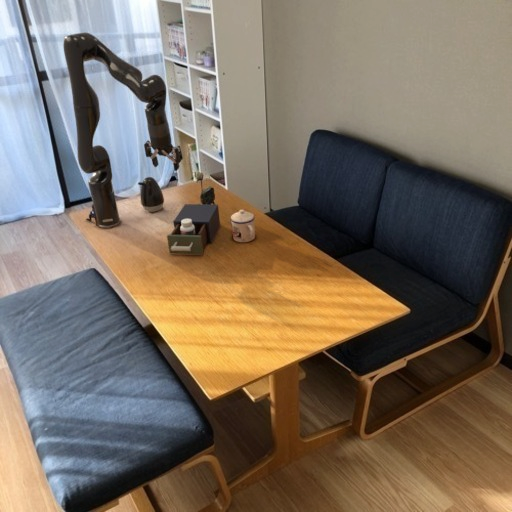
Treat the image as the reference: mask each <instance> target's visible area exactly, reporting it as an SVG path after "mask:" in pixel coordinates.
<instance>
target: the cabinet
mask: <svg viewBox="0 0 512 512" xmlns="http://www.w3.org/2000/svg"><path fill="white" fill-rule="evenodd" d="M183 219H191V220H192V224H207V232H208V240H207V242H206V244H209V245H210V244H212V243H213V241H214V239H215V236H216V235H217V234H218V230H219V229H220V226H221V220H220V211H219V204H215V205H214V204H213V203H212V204H202V203H193V204H192V203H188V204H187V203H185V204H183V206H182V208H181V209H180V211H179V212H178V213H177V215H176V216H175V218H174V220H173V227H174V229H175V227H176V225H177V224H178V223H181V221H182V220H183Z"/></svg>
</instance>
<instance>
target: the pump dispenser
mask: <svg viewBox="0 0 512 512" xmlns="http://www.w3.org/2000/svg"><path fill="white" fill-rule="evenodd" d="M137 185H138V186H140V197H139V199H140V204H141V206H142V208H143V209H144V210H145V211H147V212H149V213H155V212H158V211H160V210H162V208H163V207H164V204H165V197H164V194H163V191H162V189H161V186H160V185H159V183H158V182H157V180H156V179H155V178H154V177H152V176H147V177H145V178H144V179H143V180H142V181H141V182H140V181H139V182H138V183H137Z"/></svg>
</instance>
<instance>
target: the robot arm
mask: <svg viewBox="0 0 512 512" xmlns="http://www.w3.org/2000/svg"><path fill="white" fill-rule="evenodd" d="M62 46H63V54H64V59H65V62H66V66H67V72H68V77H69V82H70V88H71V95H72V96H71V97H72V105H73V114H74V118H75V128H76V140H77V142H76V143H77V145H76V146H77V149H76V150H77V161H78V165H79V167H80V169H81V170H82V171H83V173H85V174H90V175H91V174H92V175H91V177H90V178H89V179H88V182H87V185H88V188H89V192H90V196H91V201H92V204H91V211H89V214H88V218H86V221H88V222H92V220H93V219H94V222H95V226H96V227H98V228H100V229H111V228H115V227H117V226H119V225H120V224H121V218H120V213H119V209H118V204H117V200H116V195H115V194H116V193H115V190H114V184H113V171H112V164H111V159H110V155H109V153H108V150H107V149H106V148H105V147H104V146H102V145H99V144H97V145H94V138H95V133H96V130H97V128H98V126H99V122H100V118H101V109H100V101H99V100H100V99H99V97H98V94H97V93H96V91H95V89H94V88H93V87H92V85H91V84H90V83H89V81H88V79H87V76H86V71H85V62H90V61H92V60H93V61H96V62H99V63H100V64H103V66H105V68H106V69H107V71H108V73H109V75H110V76H111V77H112V78H113V79H114V80H115V81H117V82H119V83H120V84H122V85H124V86H125V87H126V88H128V89H129V90H130V92H131V93H132V94H133V95H134V96H135V97H136V99H137V100H139V101H140V102H142V103H144V104H146V105H145V106H144V114H145V119H146V124H147V125H146V127H147V131H148V136H149V140H146V141H145V142H144V144H143V147H144V152H145V153H144V154H145V157H146V158H150V159H151V162H152V166H153V167H154V168H158V166H159V160H158V156H161V157H166V158H167V159H168V160H170V161H171V162H172V164H173V165H172V166H173V171H174V172H177V171H178V170H179V169H180V163H181V162H182V161H183V159H184V157H183V153H182V148H181V145H177V146H173V144H172V136H171V131H170V130H171V129H170V124H169V122H168V117H167V111H166V104H167V86H166V83H165V80H164V79H163V78H162V76H160V75H158V74H152V75H150V76H148V77H147V78H145V79H143V73H142V71H141V70H140V69H139V68H137V67H136V66H134V65H132V64H131V63H129V62H127V61H126V60H125V59H122V58H121V57H120V56H118V55H117V54H115V53H114V52H113V51H112V50H111V49H110V48H109V47H107V46H106V45H105V44H104V43H103V42H102V41H100V39H99V38H97V37H96V36H95V35H93V34H92V33H90V32H79V33H73V34H69V35H67V36H65V37H64V39H63V45H62ZM152 149H153V152H152Z"/></svg>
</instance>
